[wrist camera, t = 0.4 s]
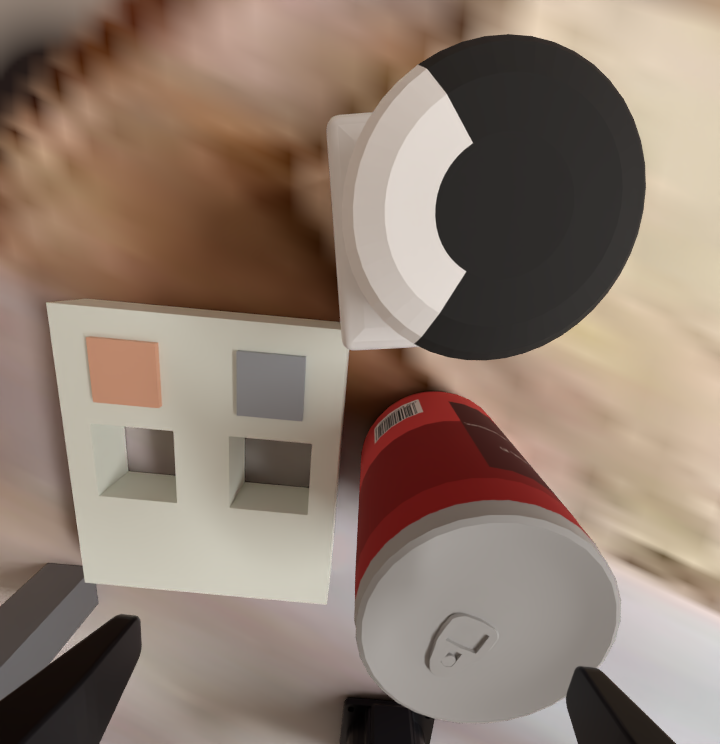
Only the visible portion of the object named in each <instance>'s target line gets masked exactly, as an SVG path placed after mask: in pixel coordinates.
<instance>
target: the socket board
mask: <svg viewBox="0 0 720 744" xmlns="http://www.w3.org/2000/svg"><path fill="white" fill-rule="evenodd" d="M46 306H47V313H48V320H49V328H50V335H51V342H52V349H53V356H54V363H55V371H56V378H57V385H58V392H59V399H60V407H61V414H62V421H63V428H64V435H65V443H66V450H67V457H68V464H69V471H70V479H71V486H72V493H73V500H74V507H75V514H76V522H77V529H78V536H79V543H80V550H81V558H82V565H83V572H84V579H85V583H95V584H105V585H116V586H127V587H138V588H149V589H160V590H171V591H182V592H193V593H204V594H215V595H226V596H237V597H248V598H259V599H270V600H280V601H291V602H302V603H313V604H324V605H327V598H328V590H329V582H330V574H331V564H332V552H333V540H334V527H335V515H336V503H337V491H338V479H339V467H340V455H341V443H342V431H343V419H344V407H345V395H346V383H347V371H348V359H349V349H347V348H346V347H345V346H344V345H343V342H342V337H341V323H340V322H335V321H324V320H313V319H302V318H291V317H281V316H270V315H259V314H248V313H237V312H227V311H216V310H205V309H194V308H183V307H172V306H162V305H151V304H140V303H129V302H118V301H108V300H97V299H77V300H66V301H56V302H46ZM124 427H134V428H145V429H156V430H167V431H173V434H174V453H175V472H176V476H174V475H163V474H153V473H142V472H131V471H128V461H127V450H126V439H125V428H124ZM245 438H253V439H264V440H275V441H286V442H297V443H308V444H312V450H311V467H310V484H309V488H305V487H294V486H283V485H272V484H261V483H251V482H245Z"/></svg>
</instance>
